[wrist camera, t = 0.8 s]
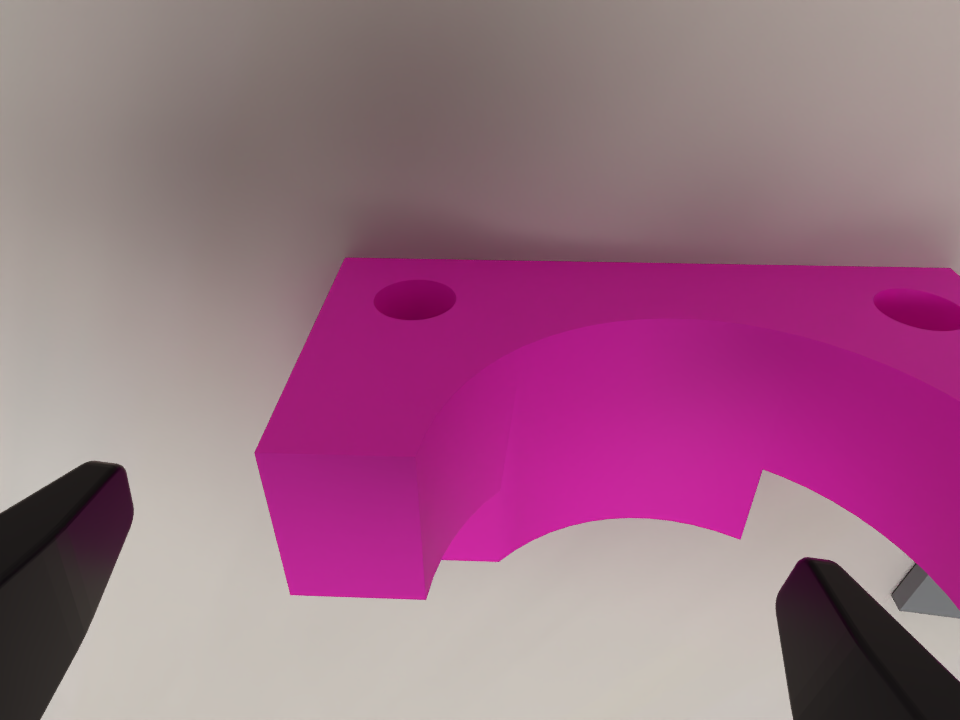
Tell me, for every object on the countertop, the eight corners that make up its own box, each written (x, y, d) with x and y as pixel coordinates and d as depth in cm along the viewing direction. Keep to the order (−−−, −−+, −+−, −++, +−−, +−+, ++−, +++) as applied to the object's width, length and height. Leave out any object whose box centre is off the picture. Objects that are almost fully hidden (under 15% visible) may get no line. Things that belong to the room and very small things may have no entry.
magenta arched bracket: (369, 439, 21) (308, 667, 15) (346, 254, 17) (254, 452, 11) (865, 452, 20) (1017, 695, 14) (946, 264, 17) (1193, 479, 11)
